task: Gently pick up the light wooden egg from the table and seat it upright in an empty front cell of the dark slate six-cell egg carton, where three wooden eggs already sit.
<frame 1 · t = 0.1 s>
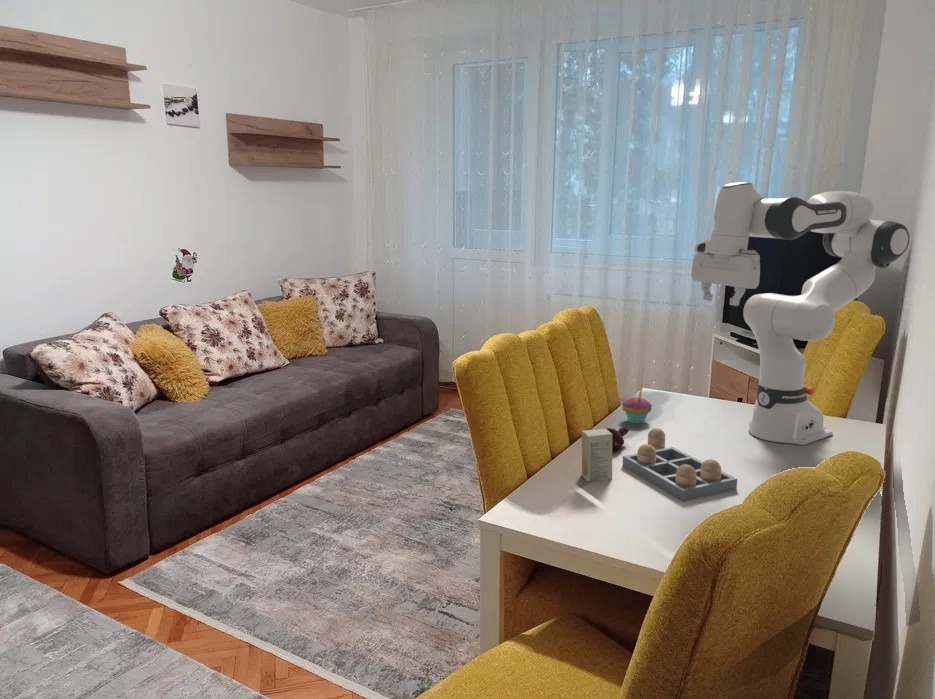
hand: (720, 302, 171), 39 cm above the table, tool pointing down, fingers open, 8 cm apart
wooden egg: (655, 450, 177), on the table
seated egg 3: (709, 485, 153), point 1 cm above the table, touching egg carton
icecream: (608, 453, 176), on the table
seated egg 2: (685, 491, 150), point 1 cm above the table, touching egg carton
egg carton: (676, 481, 158), on the table
cupcake: (636, 421, 201), on the table
skincare box: (596, 481, 159), on the table
seated egg 1: (646, 468, 163), point 1 cm above the table, touching egg carton
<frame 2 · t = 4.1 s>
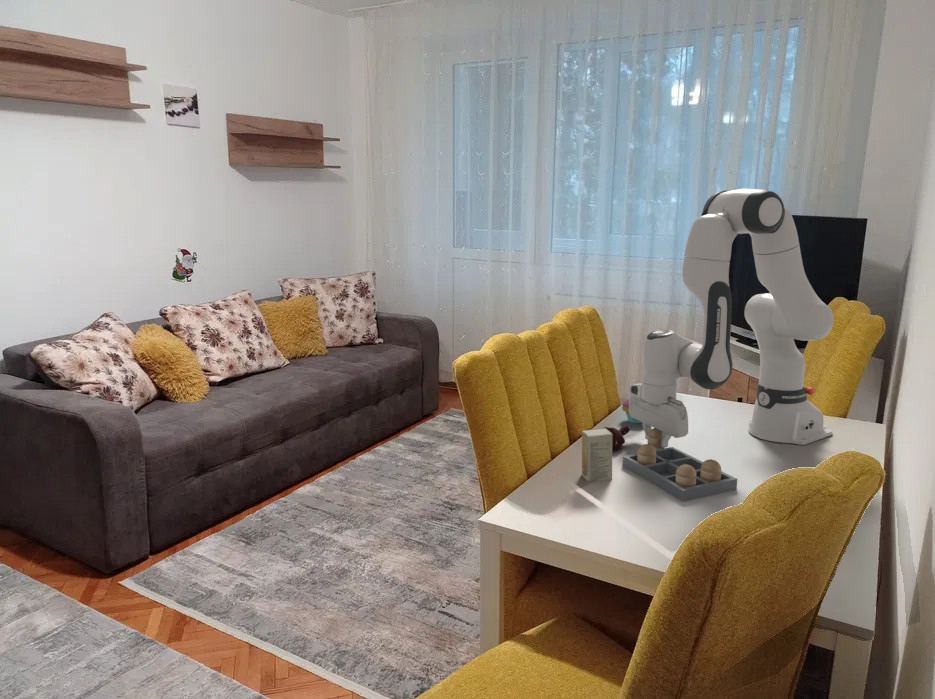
hand: (656, 443, 177), 2 cm above the table, tool pointing down, fingers closed on wooden egg, 4 cm apart
wooden egg: (655, 450, 177), on the table, touching gripper
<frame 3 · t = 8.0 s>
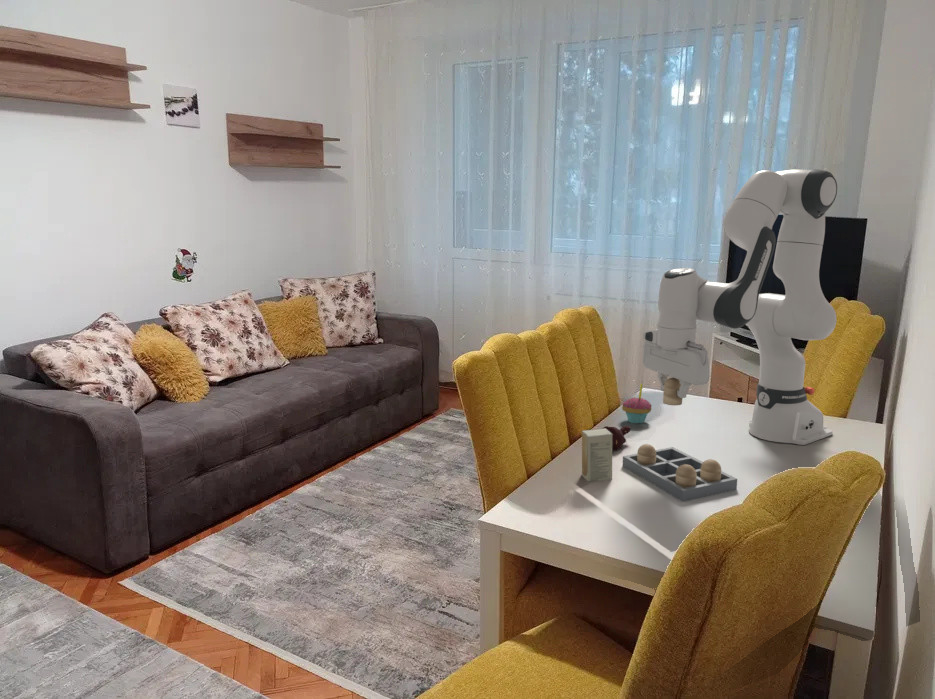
hand: (673, 394, 161), 19 cm above the table, tool pointing down, fingers closed on wooden egg, 4 cm apart
wooden egg: (672, 402, 162), point 17 cm above the table, touching gripper
when the fingers open (5 cm above the table, at t = 12.0 s): wooden egg drops 1 cm, resting on egg carton.
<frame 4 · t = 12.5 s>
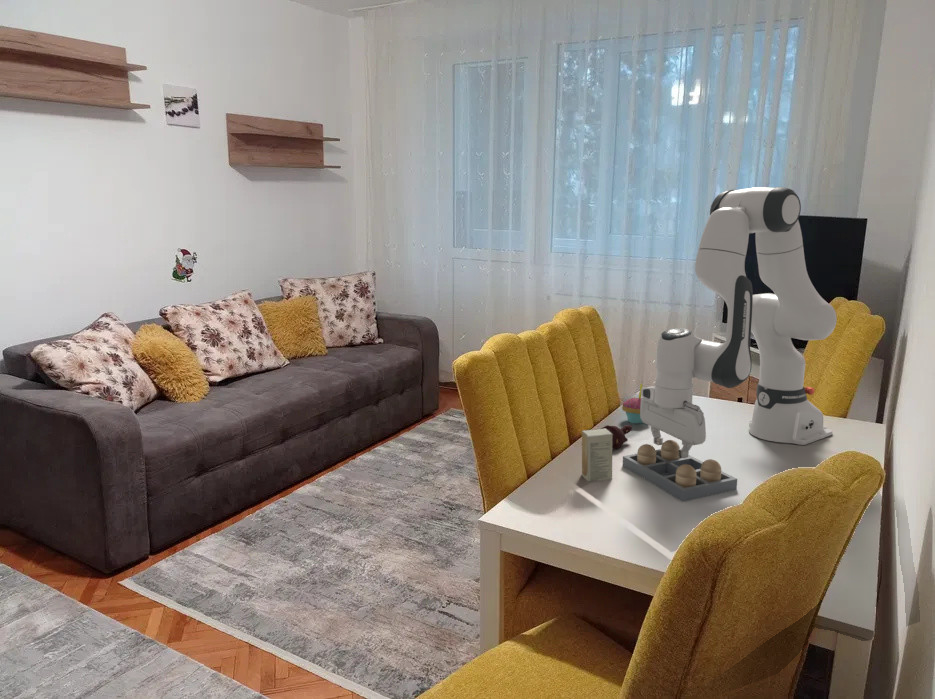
hand: (670, 450, 165), 5 cm above the table, tool pointing down, fingers open, 8 cm apart
wooden egg: (669, 464, 165), point 1 cm above the table, touching egg carton
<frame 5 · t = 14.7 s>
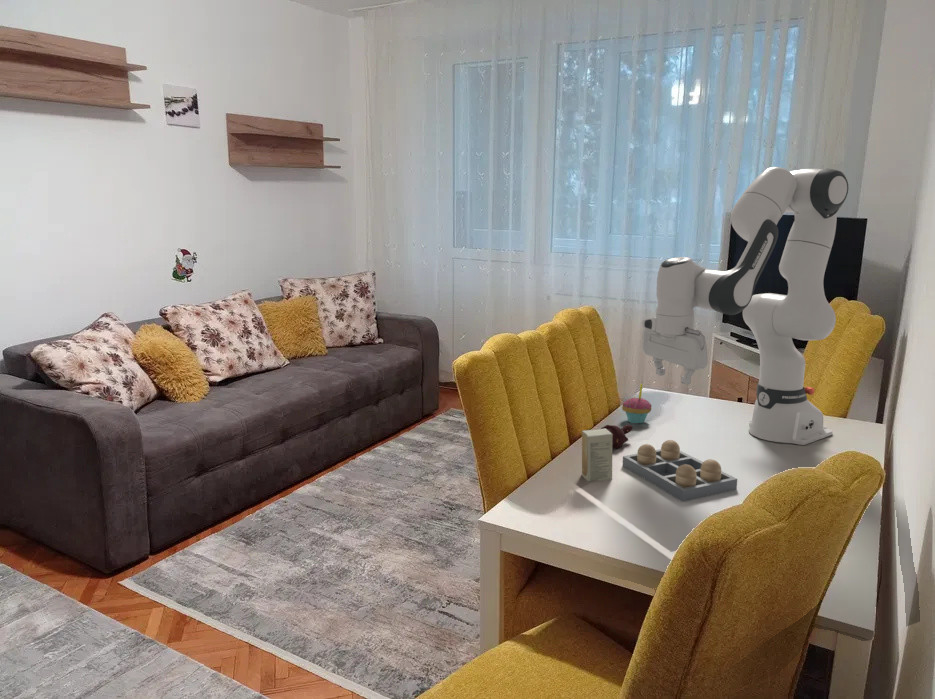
hand: (672, 379, 167), 21 cm above the table, tool pointing down, fingers open, 8 cm apart
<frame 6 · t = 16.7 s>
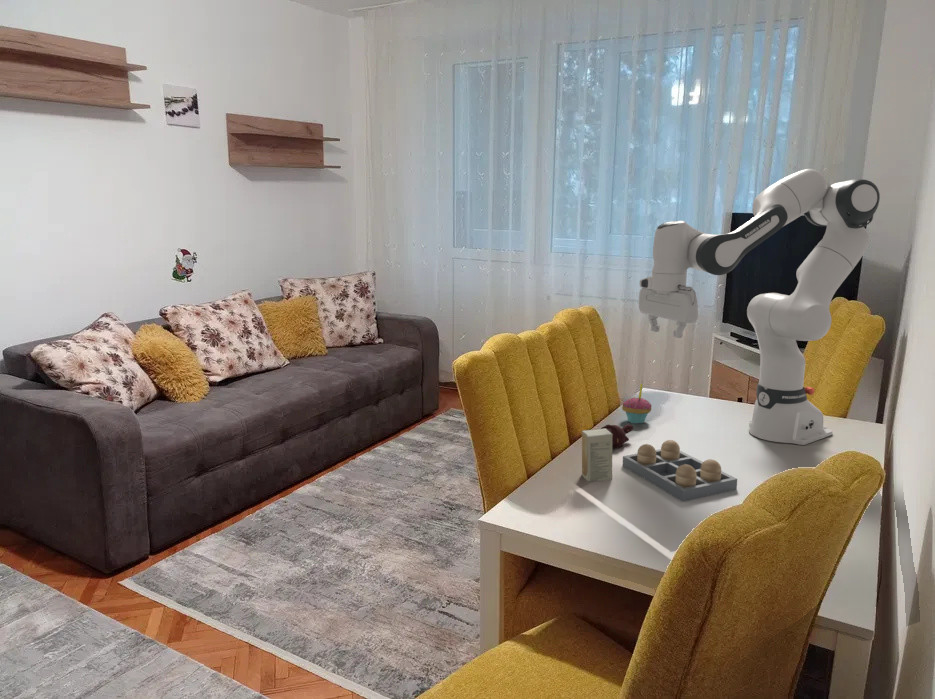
hand: (666, 334, 181), 29 cm above the table, tool pointing down, fingers open, 8 cm apart
at the end: wooden egg 0.1 cm from the target spot on the egg carton, point 1.0 cm above the egg carton's base; wooden egg tilted 0°; the gripper is holding nothing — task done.
